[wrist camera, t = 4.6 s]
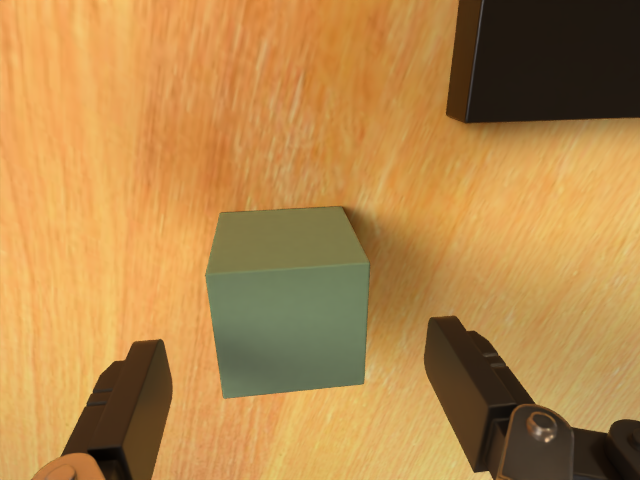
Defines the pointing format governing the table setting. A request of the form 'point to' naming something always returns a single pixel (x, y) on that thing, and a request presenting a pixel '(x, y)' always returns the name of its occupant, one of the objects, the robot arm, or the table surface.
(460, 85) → the laptop
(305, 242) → the cube
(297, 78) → the table surface
